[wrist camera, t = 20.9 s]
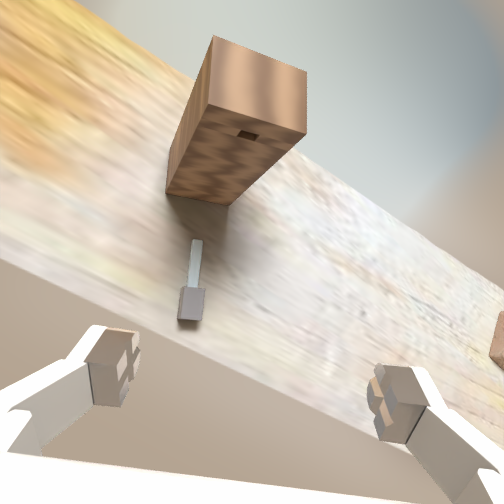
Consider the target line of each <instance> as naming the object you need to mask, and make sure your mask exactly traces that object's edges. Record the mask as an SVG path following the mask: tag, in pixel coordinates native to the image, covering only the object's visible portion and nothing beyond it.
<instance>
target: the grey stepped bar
mask: <svg viewBox="0 0 504 504" xmlns="http://www.w3.org/2000/svg"><path fill="white" fill-rule="evenodd" d="M202 246H203V240H197V239H193V240H192V244H191V252H190V260H189V268H188V276H187V284H186V286H184V287H182V288H181V292H180V300H179V308H178V315H177V319H186V320H202V314H203V305H204V296H205V289H202V288H198V281H199V272H200V264H201V255H202Z"/></svg>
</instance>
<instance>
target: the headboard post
mask: <svg viewBox="0 0 504 504" xmlns="http://www.w3.org/2000/svg"><path fill="white" fill-rule="evenodd" d="M306 134H307V72H305V71H303V70H300V69H298V68H295V67H293V66H290V65H288V64H285V63H282V62H280V61H278V60H275V59H273V58H270V57H268V56H265V55H263V54H260V53H258V52H255V51H253V50H250V49H248V48H245V47H242V46H240V45H237V44H235V43H232V42H230V41H227V40H225V39H222V38H220V37H217V36H215V35H213V37H212V40H211V43H210V45H209V48H208V51H207V53H206V56H205V58H204V61H203V64H202V66H201V69H200V71H199V74H198V77H197V79H196V82H195V85H194V87H193V90H192V92H191V95H190V98H189V100H188V103H187V106H186V108H185V111H184V113H183V116H182V119H181V121H180V124H179V126H178V129H177V132H176V134H175V137H174V140H173V142H172V145H171V147H170V152H169V162H168V171H167V181H166V190H165V193H166V194H171V195H177V196H182V197H187V198H192V199H198V200H203V201H208V202H213V203H219V204H224V205H230V204H232V203H233V202H234V201H235V200H236V199H237V198H238V197H239V196H240V195H241V194H242V193H243V192H245V191H246V190H247V189H248V188H249V187H250V186H251V185H252V184H253V183H254V182H255V181H256V180H258V179H259V178H260V177H261V176H262V175H263V174H264V173H265V172H266V171H267V170H268V169H269V168H270V167H272V166H273V165H274V164H275V163H276V162H277V161H278V160H279V159H280V158H281V157H282V156H283V155H285V154H286V153H287V152H288V151H289V150H290V149H291V148H292V147H293V146H294V145H295V144H296V143H298V142H299V141H300V140H301V139H302V138H303V137H304V136H305V135H306Z"/></svg>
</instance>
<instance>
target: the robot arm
mask: <svg viewBox="0 0 504 504" xmlns="http://www.w3.org/2000/svg"><path fill="white" fill-rule="evenodd" d="M139 341H140V336H139V332H138V331H132V330H126V329H120V328H113V327H104V326H98V325H93V326H91V327H90V328H89V329H88V330H87V332H86V333H85V335H84V336H83V337H82V338H81V340H80V341H79V342H78V344H77V345H76V346H75V348H74V349H73V350H72V351H71V353H70V354H69V355H68V357H67V358H66V359H65V360H58V361H57V362H55V363H53V364H51V365H49V366H47V367H45V368H43V369H41V370H39V371H37V372H35V373H34V374H32V375H30V376H28V377H26V378H24V379H22V380H20V381H18V382H16V383H14V384H12V385H10V386H9V387H7V388H5V389H3V390H1V391H0V504H416V503H409V502H400V501H393V500H385V499H377V498H369V497H361V496H353V495H345V494H337V493H329V492H321V491H313V490H305V489H297V488H289V487H280V486H273V485H264V484H257V483H249V482H240V481H233V480H225V479H217V478H209V477H201V476H193V475H186V474H178V473H170V472H162V471H154V470H146V469H138V468H130V467H122V466H114V465H106V464H99V463H91V462H82V461H74V460H66V459H59V458H51V457H43V455H42V451H41V449H42V448H43V447H44V446H45V445H46V444H47V443H49V442H50V441H51V440H53V439H54V438H55V437H56V436H57V435H59V434H60V433H61V432H62V431H64V430H65V429H66V428H67V427H69V426H70V425H71V424H72V423H74V422H75V421H76V420H77V419H78V418H80V417H81V416H82V415H83V414H85V413H86V412H87V411H88V410H89V409H91V408H92V407H93V405H101V406H111V407H121V405H122V403H123V401H124V399H125V397H126V395H127V392H128V391H129V385H128V382H130V381H131V380H133V379H134V378H135V375H136V373H137V370H138V367H139V363H140V350H139V348H138V347H137V345H138V343H139ZM374 373H375V377H374V378H372V379H371V380H370V381H369V384H368V387H367V401H368V405H369V409H370V410H371V411H372V412H373V413H374V414H375V415H376V416H375V419H374V421H373V422H374V425H375V428H376V431H377V434H378V438H379V440H380V441H386V442H392V443H399V444H405V445H406V447H407V448H408V450H409V451H410V452H411V453H412V454H413V456H414V457H415V458H416V459H417V460H418V462H419V463H420V464H421V465H422V466H423V468H424V469H425V470H426V471H427V473H428V474H429V475H430V476H431V477H432V479H433V480H434V481H435V482H436V484H437V485H438V486H439V487H440V488H441V489H442V491H443V492H444V493H445V494H446V496H447V497H448V498H449V499H450V501H451V502H452V503H453V504H504V451H503V450H501V449H500V448H499V447H498V446H496V445H495V444H494V443H493V442H492V441H490V440H489V439H488V438H487V437H485V436H484V435H483V434H482V433H481V432H479V431H478V430H477V429H476V428H474V427H473V426H472V425H471V424H469V423H468V422H467V421H466V420H465V419H463V418H462V417H461V416H460V415H458V414H457V413H456V412H455V411H454V410H449V409H448V408H447V406H446V404H445V402H444V401H443V399H442V397H441V395H440V394H439V392H438V390H437V388H436V386H435V385H434V383H433V381H432V379H431V377H430V376H429V374H428V372H427V370H425V369H424V368H421V367H413V366H403V365H395V364H387V363H378V364H377V365H376V367H375V369H374Z"/></svg>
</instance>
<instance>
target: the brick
mask: <svg viewBox="0 0 504 504" xmlns="http://www.w3.org/2000/svg"><path fill="white" fill-rule="evenodd" d="M489 356H490V357H491V359H492V360H494V361H495V362H496V363H497V364H498V365H499V367H500V368H502V369H504V311H501V312H500V314H499V317H498V321H497V324H496V328H495V332H494V336H493V340H492V344H491V349H490V353H489Z"/></svg>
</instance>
